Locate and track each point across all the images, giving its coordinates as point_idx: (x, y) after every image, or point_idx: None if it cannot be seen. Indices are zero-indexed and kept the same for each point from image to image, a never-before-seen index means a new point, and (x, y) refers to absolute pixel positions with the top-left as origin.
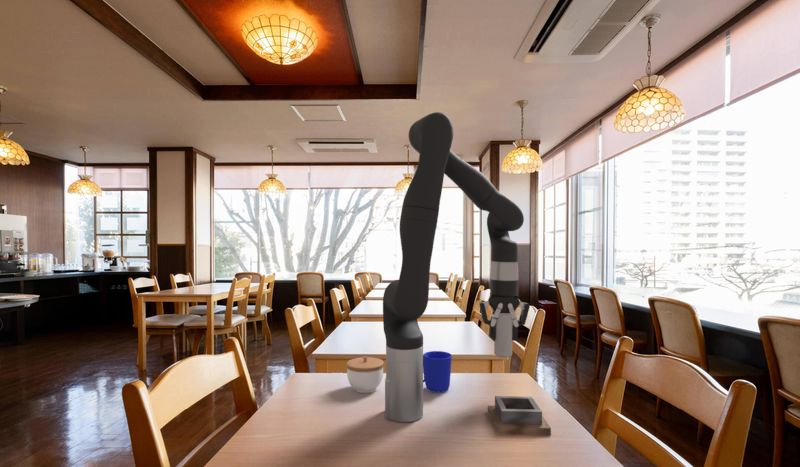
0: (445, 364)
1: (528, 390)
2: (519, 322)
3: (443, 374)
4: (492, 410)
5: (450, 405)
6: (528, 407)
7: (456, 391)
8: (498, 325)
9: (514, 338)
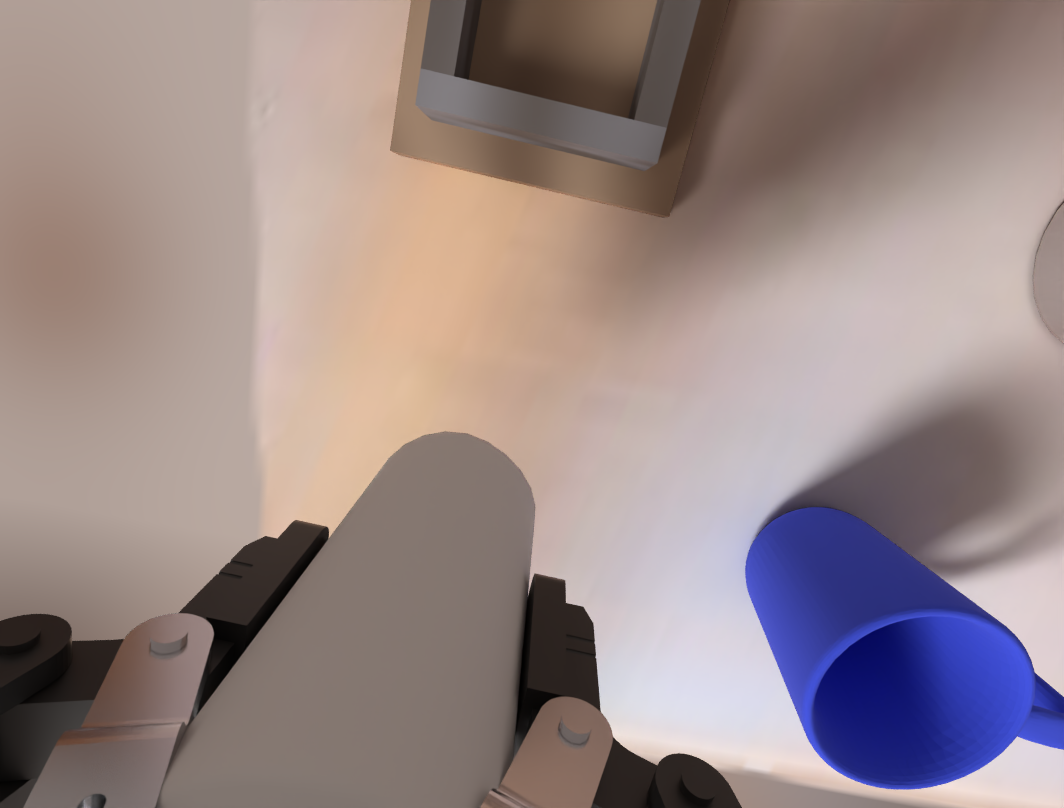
0: (875, 587)
1: (315, 459)
2: (76, 682)
3: (853, 548)
4: (676, 136)
5: (830, 336)
6: (464, 74)
7: (714, 513)
8: (489, 676)
9: (300, 530)
